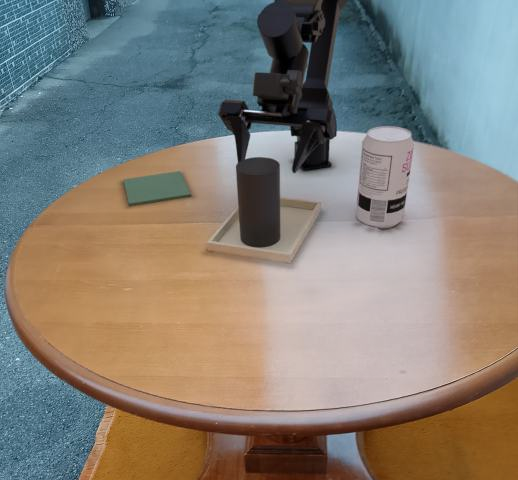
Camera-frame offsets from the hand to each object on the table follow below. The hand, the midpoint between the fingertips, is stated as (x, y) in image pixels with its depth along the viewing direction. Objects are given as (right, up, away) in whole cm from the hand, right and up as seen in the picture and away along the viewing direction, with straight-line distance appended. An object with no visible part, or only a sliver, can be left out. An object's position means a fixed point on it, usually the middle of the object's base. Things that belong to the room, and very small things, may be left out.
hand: (266, 169), depth 87 cm
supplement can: (+20, -6, +9) cm, 23 cm away
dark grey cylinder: (-1, -10, +4) cm, 11 cm away
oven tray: (0, -9, +6) cm, 11 cm away
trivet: (-22, +3, +21) cm, 31 cm away
